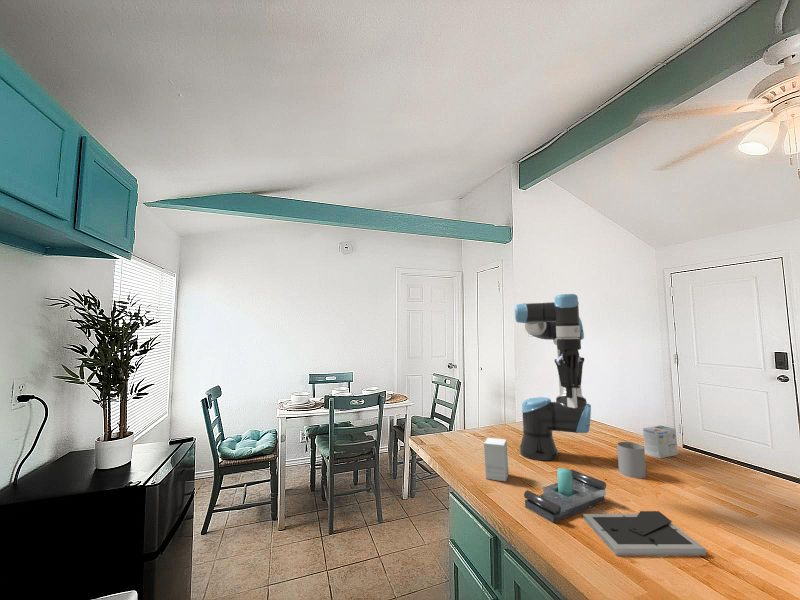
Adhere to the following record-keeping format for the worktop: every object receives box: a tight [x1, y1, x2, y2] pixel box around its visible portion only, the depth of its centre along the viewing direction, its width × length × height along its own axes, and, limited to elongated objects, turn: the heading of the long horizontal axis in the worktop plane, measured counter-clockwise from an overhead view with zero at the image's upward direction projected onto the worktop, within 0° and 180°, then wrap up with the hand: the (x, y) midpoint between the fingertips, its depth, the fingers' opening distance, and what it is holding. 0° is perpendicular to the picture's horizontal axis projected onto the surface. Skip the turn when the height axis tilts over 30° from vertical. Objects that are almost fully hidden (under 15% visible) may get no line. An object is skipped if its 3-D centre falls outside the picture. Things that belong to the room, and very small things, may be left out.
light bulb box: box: [642, 425, 678, 459], centre depth 148 cm, size 11×7×11 cm, turn 109°
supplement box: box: [483, 437, 509, 482], centre depth 130 cm, size 7×7×13 cm
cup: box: [616, 441, 647, 479], centre depth 130 cm, size 8×8×10 cm
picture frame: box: [583, 510, 707, 557], centre depth 91 cm, size 16×3×21 cm
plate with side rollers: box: [523, 469, 607, 524], centre depth 108 cm, size 11×24×6 cm, turn 118°
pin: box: [556, 467, 573, 497], centre depth 108 cm, size 4×4×10 cm
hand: (572, 407), depth 122 cm, fingers closed
